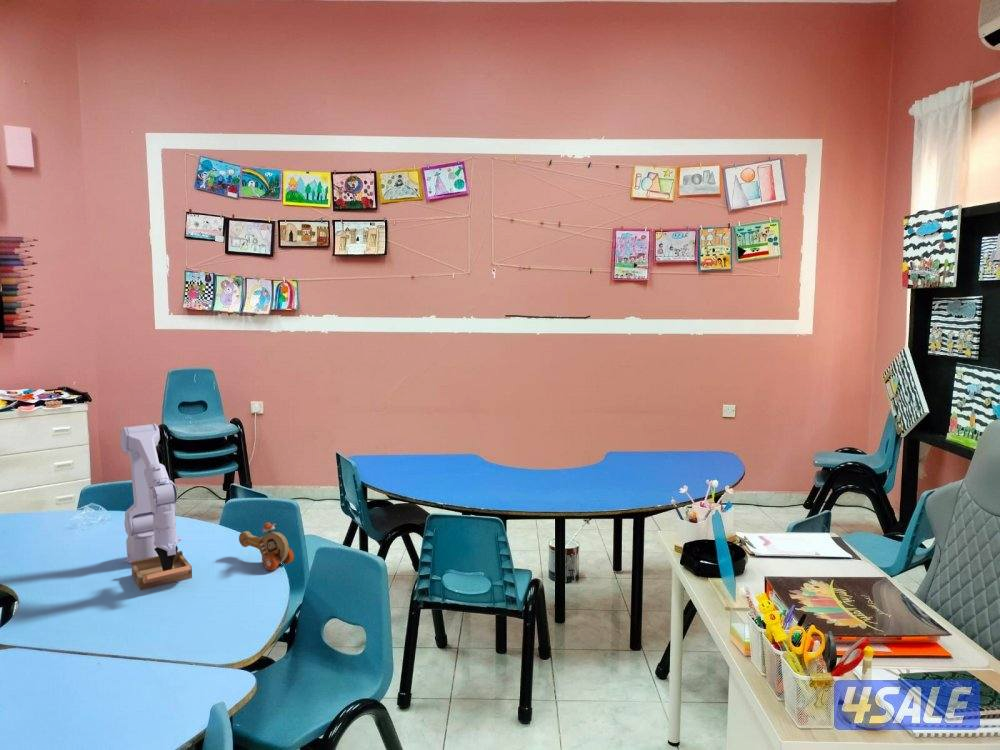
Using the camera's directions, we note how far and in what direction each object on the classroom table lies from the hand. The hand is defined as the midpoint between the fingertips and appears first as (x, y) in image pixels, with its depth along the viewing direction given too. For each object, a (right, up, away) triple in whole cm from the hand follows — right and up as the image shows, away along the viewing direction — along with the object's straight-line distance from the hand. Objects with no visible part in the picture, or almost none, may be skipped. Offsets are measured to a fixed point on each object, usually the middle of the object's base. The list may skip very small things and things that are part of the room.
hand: (167, 571), depth 199 cm
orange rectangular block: (-1, -3, +2) cm, 4 cm away
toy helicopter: (+22, -3, +18) cm, 29 cm away
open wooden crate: (-5, -4, +7) cm, 10 cm away
